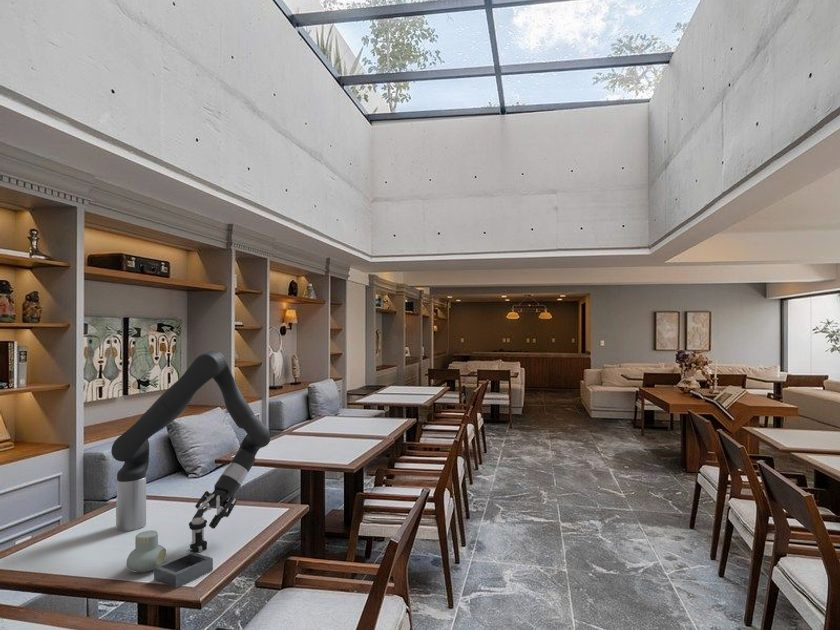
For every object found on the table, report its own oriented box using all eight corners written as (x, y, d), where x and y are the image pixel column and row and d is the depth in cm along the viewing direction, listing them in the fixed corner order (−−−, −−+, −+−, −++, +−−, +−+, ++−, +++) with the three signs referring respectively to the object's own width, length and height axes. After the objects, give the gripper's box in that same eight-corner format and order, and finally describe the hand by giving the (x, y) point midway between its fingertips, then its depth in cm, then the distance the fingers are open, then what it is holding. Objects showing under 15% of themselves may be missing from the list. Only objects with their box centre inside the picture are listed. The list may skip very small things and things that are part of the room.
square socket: (153, 580, 145) (153, 567, 145) (191, 563, 155) (191, 551, 155) (175, 588, 140) (175, 575, 140) (212, 570, 150) (212, 558, 150)
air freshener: (153, 576, 147) (153, 540, 148) (123, 577, 147) (123, 542, 147) (168, 559, 158) (168, 526, 158) (140, 560, 157) (140, 527, 158)
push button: (191, 557, 159) (190, 524, 159) (181, 553, 162) (181, 521, 162) (210, 549, 164) (210, 518, 165) (200, 546, 167) (200, 515, 168)
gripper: (210, 471, 177) (180, 515, 167) (239, 476, 170) (210, 523, 160) (223, 482, 181) (195, 527, 171) (252, 488, 174) (224, 534, 164)
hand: (202, 525), depth 165 cm, fingers open, 8 cm apart
